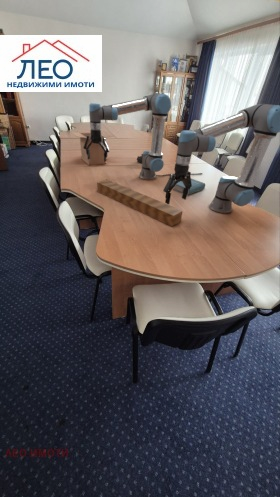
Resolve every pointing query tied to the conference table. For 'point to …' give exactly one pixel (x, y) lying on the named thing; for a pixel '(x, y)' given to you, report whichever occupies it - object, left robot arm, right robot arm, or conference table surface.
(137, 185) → the conference table surface
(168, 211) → the long wooden beam
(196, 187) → the book
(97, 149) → the box
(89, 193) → the conference table surface
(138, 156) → the laser sight
